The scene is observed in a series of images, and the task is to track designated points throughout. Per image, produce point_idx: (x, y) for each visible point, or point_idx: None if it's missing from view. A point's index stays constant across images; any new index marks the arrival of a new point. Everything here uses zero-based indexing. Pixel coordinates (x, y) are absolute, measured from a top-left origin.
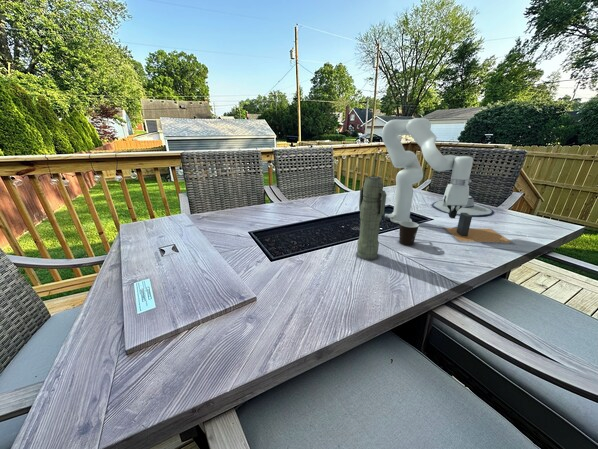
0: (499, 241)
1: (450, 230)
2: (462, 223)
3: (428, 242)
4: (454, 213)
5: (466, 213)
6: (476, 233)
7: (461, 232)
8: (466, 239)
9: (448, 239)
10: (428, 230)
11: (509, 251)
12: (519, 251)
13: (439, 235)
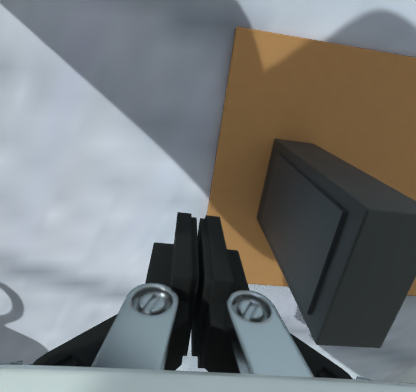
0: (412, 287)
1: (248, 104)
2: (285, 249)
3: (2, 284)
4: (191, 330)
5: (410, 255)
6: (395, 173)
7: (262, 222)
8: (252, 263)
9: (149, 245)
10: (67, 71)
11: (356, 361)
12: (398, 359)
13: (118, 182)
